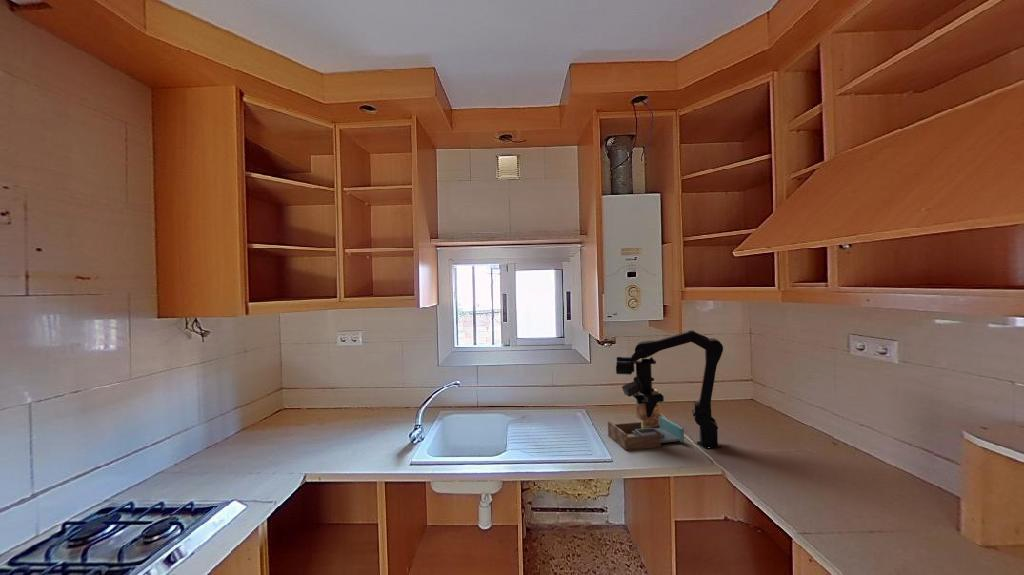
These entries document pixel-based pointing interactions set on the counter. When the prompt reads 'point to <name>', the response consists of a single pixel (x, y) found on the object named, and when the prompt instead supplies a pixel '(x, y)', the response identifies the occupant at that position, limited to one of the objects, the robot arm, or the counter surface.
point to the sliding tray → (663, 431)
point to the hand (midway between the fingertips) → (645, 415)
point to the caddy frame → (632, 436)
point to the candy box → (653, 421)
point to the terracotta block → (643, 412)
